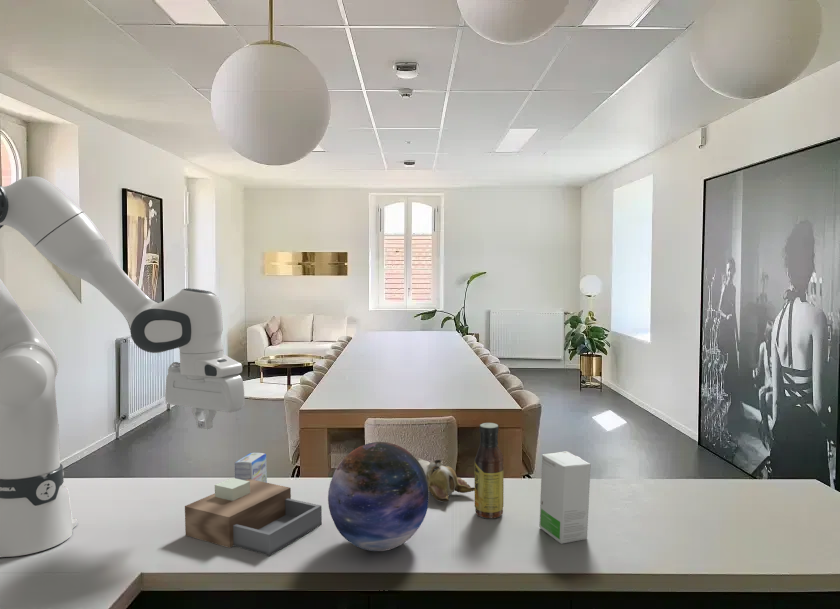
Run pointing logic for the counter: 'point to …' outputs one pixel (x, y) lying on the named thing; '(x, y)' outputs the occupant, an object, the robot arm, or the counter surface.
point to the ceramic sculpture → (443, 480)
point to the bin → (280, 528)
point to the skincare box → (564, 496)
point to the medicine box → (252, 467)
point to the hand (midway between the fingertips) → (204, 428)
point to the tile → (232, 489)
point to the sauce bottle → (489, 474)
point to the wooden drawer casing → (235, 512)
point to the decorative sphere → (378, 496)
